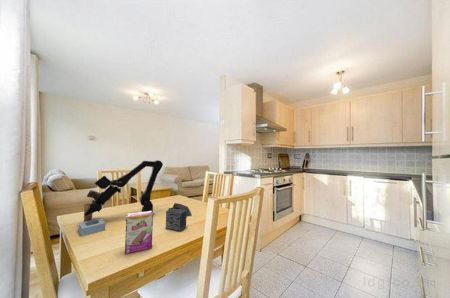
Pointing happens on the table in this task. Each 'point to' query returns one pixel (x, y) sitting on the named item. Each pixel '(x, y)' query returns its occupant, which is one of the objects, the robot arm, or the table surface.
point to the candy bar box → (138, 231)
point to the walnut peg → (86, 207)
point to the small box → (176, 219)
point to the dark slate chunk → (181, 208)
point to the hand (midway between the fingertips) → (85, 214)
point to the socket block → (91, 226)
